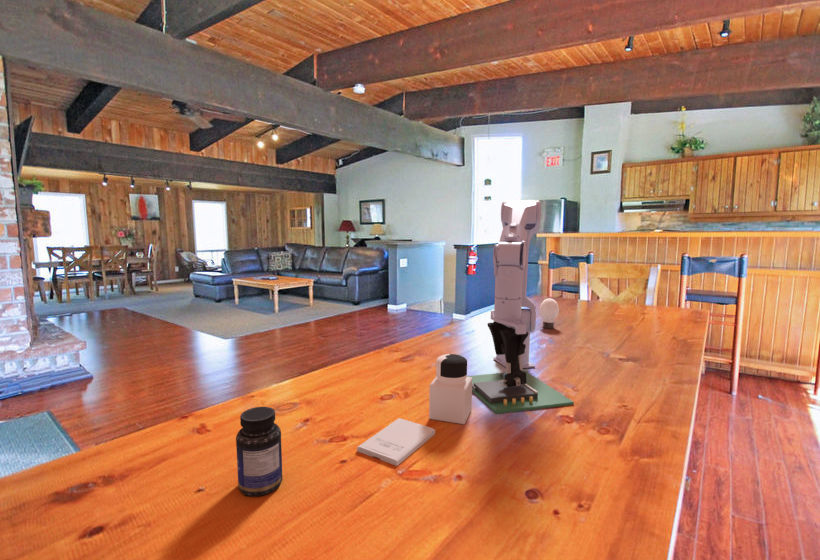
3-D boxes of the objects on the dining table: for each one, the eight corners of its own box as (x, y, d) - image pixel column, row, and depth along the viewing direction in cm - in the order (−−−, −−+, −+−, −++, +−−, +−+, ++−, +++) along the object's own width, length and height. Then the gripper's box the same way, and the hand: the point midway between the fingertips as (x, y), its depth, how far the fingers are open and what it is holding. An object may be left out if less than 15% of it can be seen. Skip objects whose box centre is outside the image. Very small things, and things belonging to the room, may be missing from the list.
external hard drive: (435, 437, 78) (397, 469, 67) (398, 425, 82) (356, 454, 72) (435, 428, 78) (397, 460, 67) (398, 417, 82) (356, 445, 71)
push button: (506, 392, 92) (504, 348, 90) (492, 383, 97) (490, 341, 95) (531, 385, 94) (530, 342, 92) (517, 377, 99) (515, 336, 97)
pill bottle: (245, 473, 65) (242, 404, 64) (286, 472, 66) (284, 403, 64) (232, 499, 59) (228, 423, 57) (277, 497, 59) (274, 422, 58)
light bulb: (540, 329, 156) (541, 299, 155) (537, 325, 163) (539, 296, 161) (559, 330, 155) (561, 300, 154) (556, 325, 162) (557, 297, 160)
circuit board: (459, 379, 105) (459, 372, 105) (524, 373, 110) (525, 366, 110) (496, 413, 86) (496, 405, 86) (573, 404, 91) (574, 396, 90)
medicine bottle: (471, 410, 88) (473, 353, 86) (464, 425, 81) (466, 364, 80) (438, 405, 90) (439, 349, 89) (428, 419, 83) (429, 360, 82)
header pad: (473, 387, 98) (473, 381, 98) (516, 383, 101) (517, 377, 101) (490, 403, 89) (491, 396, 89) (537, 398, 92) (537, 391, 92)
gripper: (541, 302, 86) (538, 367, 88) (511, 291, 100) (509, 347, 102) (508, 303, 85) (506, 369, 86) (482, 292, 99) (481, 349, 101)
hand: (505, 358), depth 94 cm, fingers closed on push button, 5 cm apart
